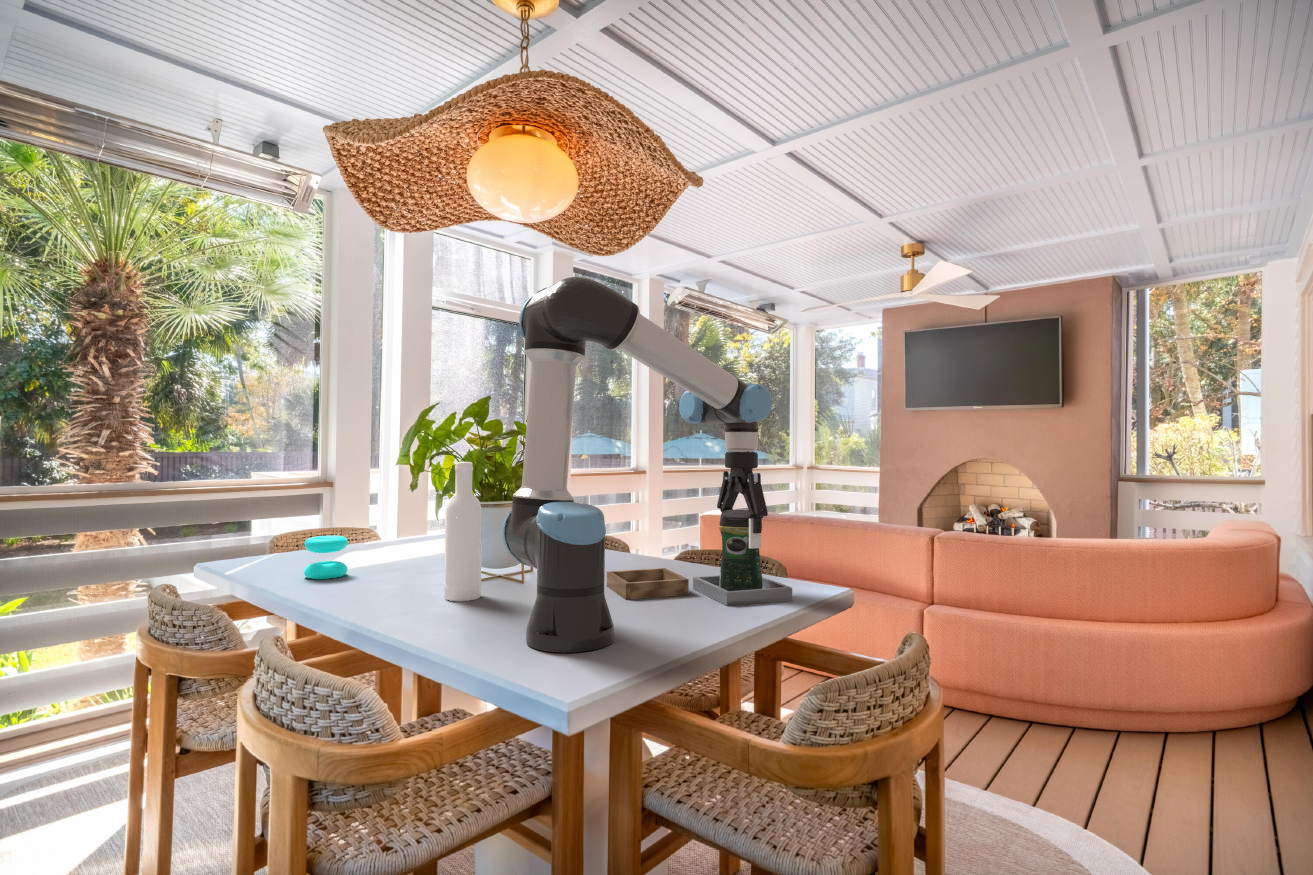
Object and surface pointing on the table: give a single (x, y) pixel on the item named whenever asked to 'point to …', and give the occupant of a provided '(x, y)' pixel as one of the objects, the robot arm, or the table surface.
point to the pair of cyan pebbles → (325, 567)
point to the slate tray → (742, 591)
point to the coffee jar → (738, 553)
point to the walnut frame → (647, 583)
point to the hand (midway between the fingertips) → (740, 544)
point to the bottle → (463, 539)
